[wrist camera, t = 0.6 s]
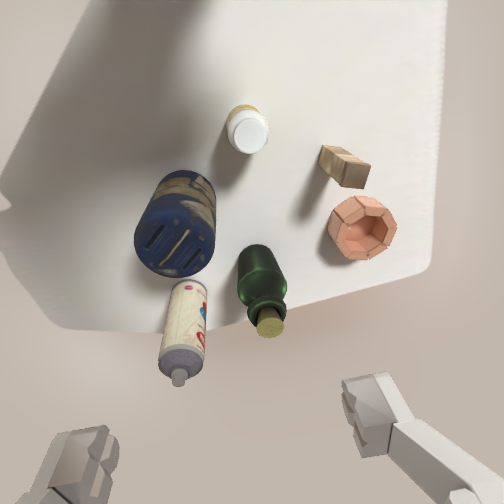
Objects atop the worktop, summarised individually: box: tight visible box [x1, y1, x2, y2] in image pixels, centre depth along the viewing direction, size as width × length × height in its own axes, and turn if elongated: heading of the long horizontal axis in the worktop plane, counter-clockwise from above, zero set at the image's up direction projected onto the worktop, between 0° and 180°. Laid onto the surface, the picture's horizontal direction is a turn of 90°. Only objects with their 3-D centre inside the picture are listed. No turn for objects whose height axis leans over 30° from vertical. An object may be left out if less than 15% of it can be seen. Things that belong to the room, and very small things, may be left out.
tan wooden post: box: [318, 145, 371, 189], centre depth 44 cm, size 3×3×11 cm
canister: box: [134, 170, 216, 278], centre depth 42 cm, size 10×10×18 cm
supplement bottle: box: [227, 105, 269, 154], centre depth 41 cm, size 5×5×10 cm
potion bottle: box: [237, 244, 287, 338], centre depth 49 cm, size 8×8×18 cm
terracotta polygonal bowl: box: [327, 196, 397, 260], centre depth 53 cm, size 10×10×5 cm
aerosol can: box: [158, 279, 207, 387], centre depth 51 cm, size 7×7×20 cm
